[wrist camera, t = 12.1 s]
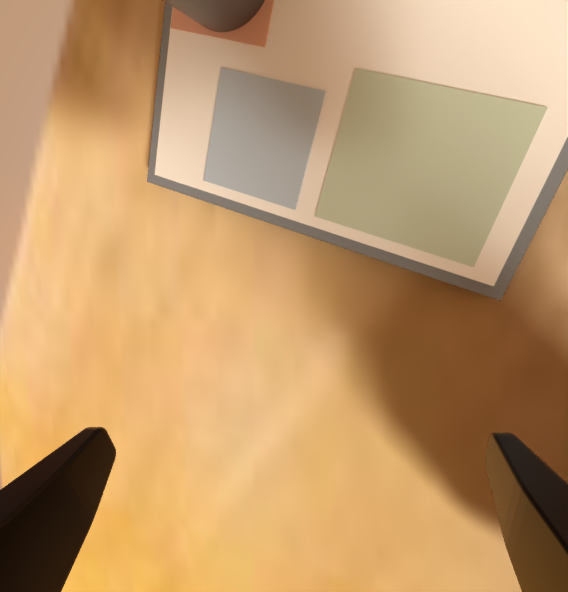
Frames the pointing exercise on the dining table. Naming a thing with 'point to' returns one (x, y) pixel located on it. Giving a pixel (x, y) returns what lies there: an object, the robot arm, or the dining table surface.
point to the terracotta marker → (218, 12)
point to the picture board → (375, 126)
